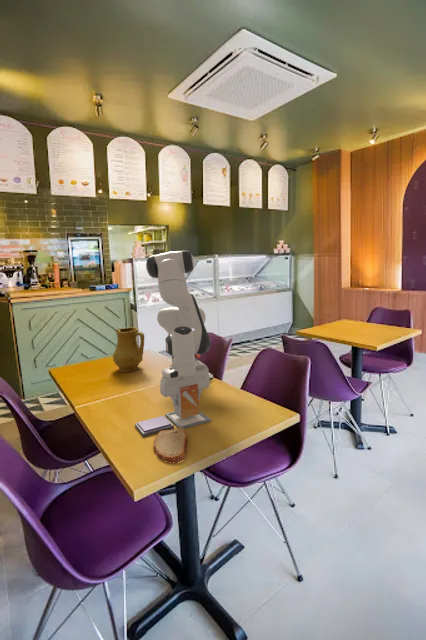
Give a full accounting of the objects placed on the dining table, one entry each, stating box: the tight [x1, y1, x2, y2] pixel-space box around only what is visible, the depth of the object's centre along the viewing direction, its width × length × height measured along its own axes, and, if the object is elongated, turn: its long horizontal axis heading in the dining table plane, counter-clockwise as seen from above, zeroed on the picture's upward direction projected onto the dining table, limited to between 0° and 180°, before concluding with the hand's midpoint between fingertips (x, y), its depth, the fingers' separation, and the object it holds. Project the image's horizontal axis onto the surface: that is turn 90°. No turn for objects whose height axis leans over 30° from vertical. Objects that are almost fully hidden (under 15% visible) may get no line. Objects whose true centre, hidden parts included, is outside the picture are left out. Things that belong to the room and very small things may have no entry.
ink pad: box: [134, 415, 175, 437], centre depth 135 cm, size 12×10×2 cm
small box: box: [173, 383, 200, 419], centre depth 141 cm, size 8×6×13 cm
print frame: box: [164, 410, 212, 430], centre depth 142 cm, size 13×15×1 cm
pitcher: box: [112, 326, 145, 373], centre depth 210 cm, size 17×19×25 cm
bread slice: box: [152, 427, 188, 464], centre depth 121 cm, size 18×18×4 cm
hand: (186, 402), depth 141 cm, fingers closed on small box, 8 cm apart
